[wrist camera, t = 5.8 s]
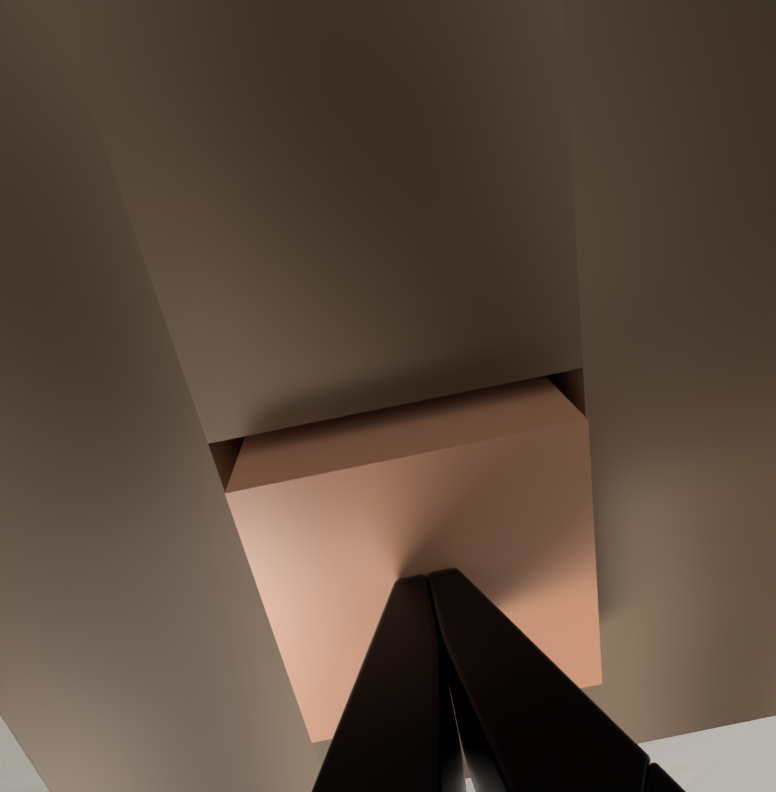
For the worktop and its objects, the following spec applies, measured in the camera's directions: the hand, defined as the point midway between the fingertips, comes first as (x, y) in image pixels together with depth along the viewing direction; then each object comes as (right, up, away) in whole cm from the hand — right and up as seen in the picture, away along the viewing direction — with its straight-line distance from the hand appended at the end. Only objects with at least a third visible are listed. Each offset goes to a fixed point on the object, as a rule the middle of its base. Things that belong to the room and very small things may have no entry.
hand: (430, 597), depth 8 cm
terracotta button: (0, +1, +3) cm, 3 cm away
